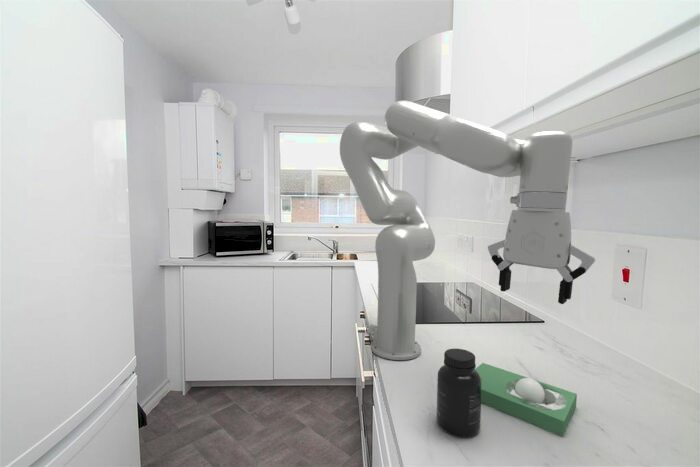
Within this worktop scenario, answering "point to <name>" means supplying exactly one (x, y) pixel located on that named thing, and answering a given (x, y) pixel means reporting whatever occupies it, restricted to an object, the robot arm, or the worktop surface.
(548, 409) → the green flat slab
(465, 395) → the supplement bottle
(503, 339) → the worktop surface
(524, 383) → the ball
